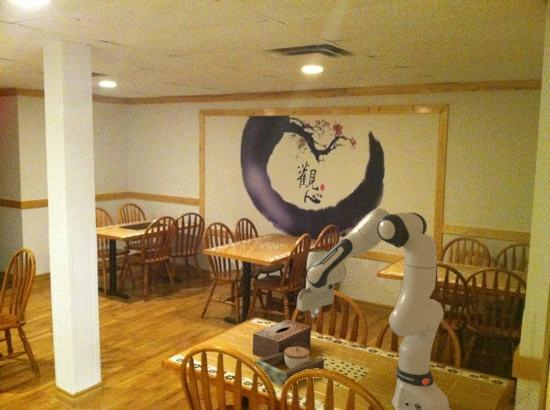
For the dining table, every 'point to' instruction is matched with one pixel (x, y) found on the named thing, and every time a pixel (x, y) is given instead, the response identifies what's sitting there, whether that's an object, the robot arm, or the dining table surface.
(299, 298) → the robot arm
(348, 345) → the dining table surface
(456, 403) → the dining table surface
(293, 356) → the lidded jar
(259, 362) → the u-shaped frame
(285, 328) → the tissue box cover
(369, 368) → the dining table surface
